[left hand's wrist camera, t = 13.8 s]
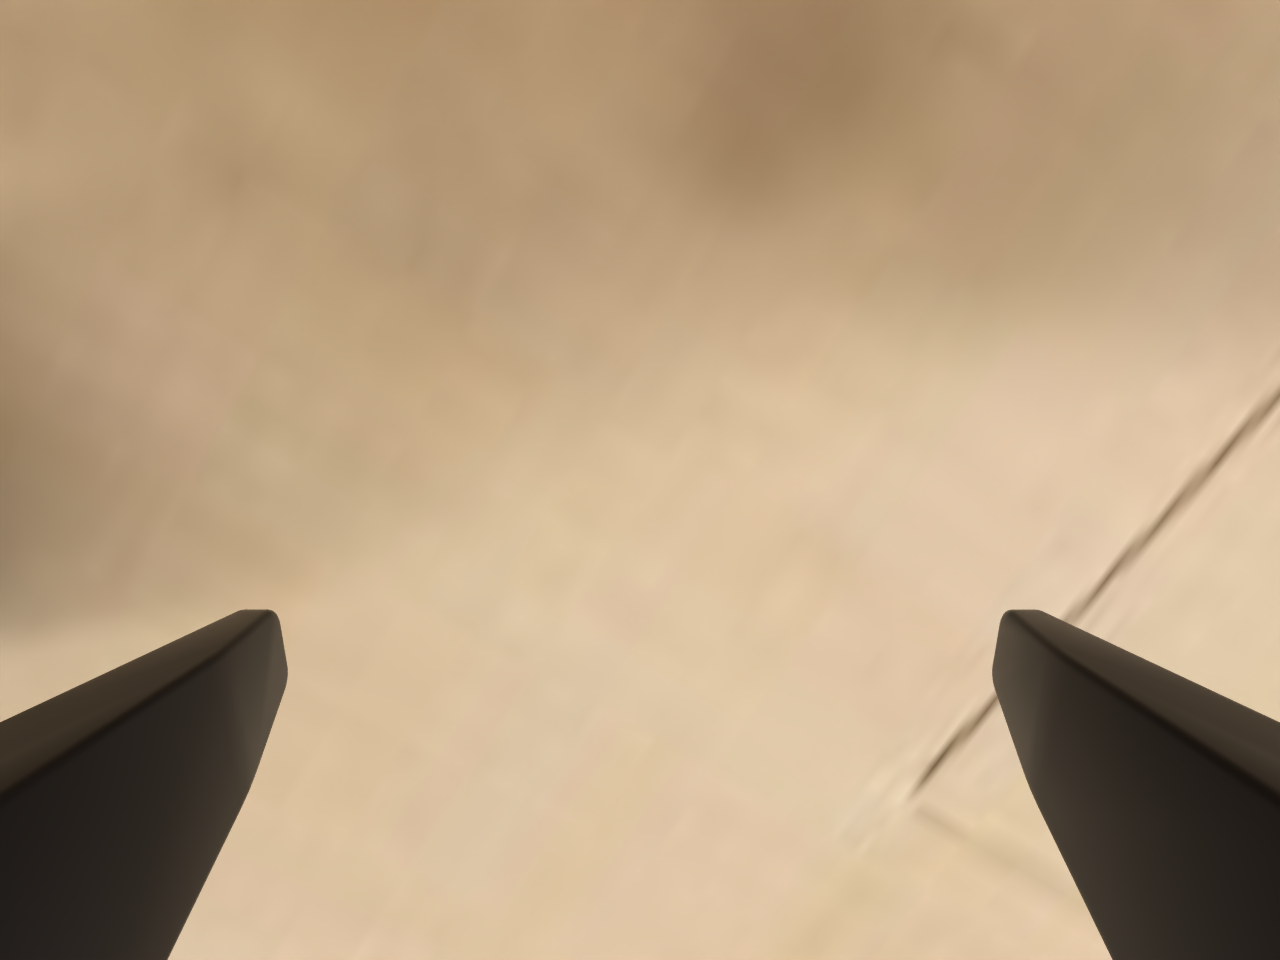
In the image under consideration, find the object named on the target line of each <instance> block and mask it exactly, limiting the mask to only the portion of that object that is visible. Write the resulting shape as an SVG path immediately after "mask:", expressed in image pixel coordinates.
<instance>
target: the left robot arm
mask: <svg viewBox="0 0 1280 960" xmlns="http://www.w3.org/2000/svg"><path fill="white" fill-rule="evenodd" d="M287 676H288V668H287V661H286V656H285V650H284V644H283V638H282V632H281V626H280V621H279V619H278V616H277V614H276V613H275V612H273V611H272V610H240V611H237V612H235V613H233V614H231V615H229V616H227V617H225V618H222V619H220V620H218V621H216V622H214V623H212V624H210V625H207V626H205V627H203V628H201V629H199V630H197V631H195V632H192V633H190V634H188V635H186V636H184V637H182V638H180V639H178V640H175V641H173V642H171V643H169V644H167V645H165V646H163V647H160V648H158V649H156V650H154V651H152V652H150V653H148V654H145V655H143V656H141V657H139V658H137V659H135V660H133V661H131V662H128V663H126V664H124V665H122V666H120V667H118V668H116V669H113V670H111V671H109V672H107V673H105V674H103V675H101V676H98V677H96V678H94V679H92V680H90V681H88V682H86V683H84V684H81V685H79V686H77V687H75V688H73V689H71V690H69V691H66V692H64V693H62V694H60V695H58V696H56V697H54V698H51V699H49V700H47V701H45V702H43V703H41V704H39V705H37V706H34V707H32V708H30V709H28V710H26V711H24V712H22V713H19V714H17V715H15V716H13V717H11V718H9V719H7V720H5V721H2V722H0V960H167V959H168V957H169V955H170V953H171V951H172V949H173V947H174V945H175V943H176V941H177V939H178V937H179V935H180V933H181V931H182V929H183V927H184V924H185V922H186V920H187V918H188V916H189V914H190V912H191V910H192V908H193V906H194V904H195V902H196V900H197V898H198V896H199V894H200V892H201V890H202V887H203V885H204V883H205V881H206V879H207V877H208V875H209V873H210V871H211V869H212V867H213V865H214V863H215V861H216V859H217V857H218V855H219V852H220V850H221V848H222V846H223V844H224V842H225V840H226V838H227V836H228V834H229V832H230V830H231V828H232V826H233V824H234V822H235V820H236V818H237V815H238V813H239V811H240V809H241V807H242V805H243V803H244V801H245V798H246V796H247V794H248V792H249V790H250V787H251V784H252V782H253V779H254V777H255V774H256V771H257V768H258V766H259V763H260V760H261V757H262V754H263V751H264V748H265V745H266V742H267V740H268V737H269V734H270V731H271V728H272V725H273V722H274V719H275V716H276V714H277V711H278V708H279V705H280V702H281V699H282V696H283V693H284V690H285V687H286V683H287ZM992 676H993V683H994V687H995V690H996V693H997V696H998V699H999V702H1000V705H1001V708H1002V711H1003V714H1004V716H1005V719H1006V722H1007V725H1008V728H1009V731H1010V734H1011V737H1012V740H1013V742H1014V745H1015V748H1016V751H1017V754H1018V757H1019V760H1020V763H1021V765H1022V768H1023V771H1024V774H1025V777H1026V779H1027V782H1028V784H1029V787H1030V790H1031V792H1032V794H1033V796H1034V798H1035V801H1036V803H1037V805H1038V807H1039V809H1040V811H1041V813H1042V815H1043V818H1044V820H1045V822H1046V824H1047V826H1048V828H1049V830H1050V832H1051V834H1052V836H1053V838H1054V840H1055V842H1056V844H1057V846H1058V848H1059V850H1060V852H1061V855H1062V857H1063V859H1064V861H1065V863H1066V865H1067V867H1068V869H1069V871H1070V873H1071V875H1072V877H1073V879H1074V881H1075V883H1076V885H1077V887H1078V890H1079V892H1080V894H1081V896H1082V898H1083V900H1084V902H1085V904H1086V906H1087V908H1088V910H1089V912H1090V914H1091V916H1092V918H1093V920H1094V922H1095V924H1096V927H1097V929H1098V931H1099V933H1100V935H1101V937H1102V939H1103V941H1104V943H1105V945H1106V947H1107V949H1108V951H1109V953H1110V955H1111V957H1112V959H1113V960H1280V722H1278V721H1275V720H1273V719H1271V718H1269V717H1267V716H1265V715H1263V714H1261V713H1258V712H1256V711H1254V710H1252V709H1250V708H1248V707H1246V706H1243V705H1241V704H1239V703H1237V702H1235V701H1233V700H1231V699H1229V698H1226V697H1224V696H1222V695H1220V694H1218V693H1216V692H1214V691H1211V690H1209V689H1207V688H1205V687H1203V686H1201V685H1199V684H1196V683H1194V682H1192V681H1190V680H1188V679H1186V678H1184V677H1182V676H1179V675H1177V674H1175V673H1173V672H1171V671H1169V670H1167V669H1164V668H1162V667H1160V666H1158V665H1156V664H1154V663H1152V662H1149V661H1147V660H1145V659H1143V658H1141V657H1139V656H1137V655H1135V654H1132V653H1130V652H1128V651H1126V650H1124V649H1122V648H1120V647H1117V646H1115V645H1113V644H1111V643H1109V642H1107V641H1105V640H1102V639H1100V638H1098V637H1096V636H1094V635H1092V634H1090V633H1088V632H1085V631H1083V630H1081V629H1079V628H1077V627H1075V626H1073V625H1070V624H1068V623H1066V622H1064V621H1062V620H1060V619H1058V618H1055V617H1053V616H1051V615H1049V614H1047V613H1045V612H1043V611H1040V610H1008V611H1007V612H1005V613H1004V614H1003V616H1002V619H1001V621H1000V626H999V632H998V638H997V644H996V650H995V656H994V661H993V668H992Z"/></svg>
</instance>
